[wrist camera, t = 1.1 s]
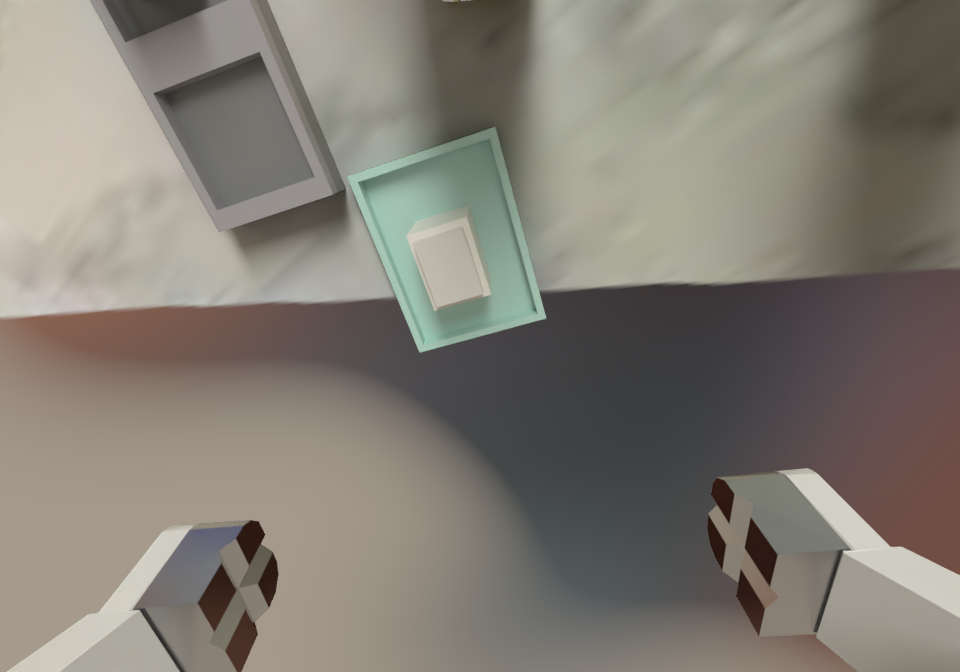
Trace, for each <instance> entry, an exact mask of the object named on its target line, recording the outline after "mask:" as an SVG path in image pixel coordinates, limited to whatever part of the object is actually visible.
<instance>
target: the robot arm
mask: <svg viewBox="0 0 960 672" xmlns="http://www.w3.org/2000/svg"><path fill="white" fill-rule="evenodd" d="M711 496H712V497H713V499H714V501H715V502H716V504H717V506H716V507H715V508H714V509H713V510H712V511H711V512H710V513H709V514H708V524H707V531H708V536H709V542H710V546H711V548H712V551H713V554H714V556H715V558H716V560H717V562H718V564H719V566H720V568H721V569H722V571H723V572H724V573H726V574H727V575H729V576H730V577H732V578H733V579H734V580H736V581H737V582H738V588H737V594H736V597H737V599H738V600H739V602H740V604H741V606H742V607H743V609H744V611H745V613H746V615H747V616H748V618H749V620H750V622H751V623H752V625H753V627H754V629H755V630H756V632H757V634H758V636H759V637H765V636H787V635H806V634H807V635H808V634H817V636H816V637H817V638H818V639H819V640H820V641H821V642H822V643H824V644H825V645H826V646H827V647H829V648H830V649H831V650H832V651H833V652H835V653H836V654H837V655H838V656H839V657H841V658H842V659H843V660H844V661H846V662H847V663H848V664H849V665H850V666H852V667H853V668H854V669H855V670H857V671H858V672H960V575H958V574H956V573H954V572H952V571H949V570H948V569H946V568H944V567H941V566H940V565H938V564H935V563H934V562H931V561H930V560H927V559H926V558H923V557H921V556H919V555H917V554H915V553H913V552H911V551H909V550H907V549H905V548H903V547H890V546H889V545H888V544H887V543H886V542H885V541H884V540H883V539H882V538H881V537H880V536H879V535H878V534H877V533H876V532H875V531H874V530H873V529H872V528H871V527H870V526H869V525H868V524H867V523H866V522H865V521H864V520H863V519H862V518H861V517H860V516H859V515H858V514H857V513H856V512H855V511H854V510H853V509H852V508H851V507H850V506H849V505H848V504H847V503H846V502H845V501H844V500H843V499H842V498H841V497H840V496H839V495H838V494H837V493H836V492H835V491H834V490H833V489H832V488H831V487H830V486H829V485H828V484H827V483H826V482H825V481H824V480H823V479H822V478H821V477H820V476H819V475H818V474H817V473H816V472H814V471H812V470H810V469H808V468H804V469H795V470H784V471H777V472H766V473H756V474H746V475H737V476H726V477H717V478H716V479H715V481H714V482H713V484H712V491H711ZM264 536H265V533H264V531H263V529H262V527H261V525H260V523H259V521H253V520H246V521H231V522H215V523H200V524H193V525H177V526H171V527H170V528H168V529H166V530H165V531H163V532H162V533H161V534H160V535H159V537H158V538H157V539H156V541H155V542H154V543H153V544H152V546H151V547H150V548H149V549H148V551H147V552H146V553H145V554H144V556H143V557H142V558H141V560H140V561H139V562H138V563H137V564H136V566H135V567H134V568H133V570H132V571H131V572H130V573H129V575H128V576H127V577H126V579H125V580H124V581H123V582H122V584H121V585H120V586H119V587H118V589H117V590H116V591H115V592H114V594H113V595H112V596H111V597H110V599H109V600H108V601H107V603H106V604H105V605H104V606H103V608H102V609H101V610H100V612H99V613H94V614H88V615H87V616H85V617H84V618H83V619H81V620H80V621H78V622H77V623H76V624H74V625H73V626H71V627H70V628H68V629H67V630H65V631H64V632H63V633H61V634H60V635H58V636H57V637H55V638H54V639H53V640H51V641H50V642H48V643H47V644H46V645H44V646H43V647H41V648H40V649H38V650H37V651H36V652H34V653H33V654H31V655H30V656H28V657H27V658H26V659H24V660H23V661H21V662H20V663H18V664H17V665H16V666H14V667H13V668H11V669H10V670H9V671H7V672H241V671H242V669H243V667H244V664H245V662H246V660H247V657H248V655H249V653H250V651H251V648H252V646H253V644H254V642H255V639H256V637H257V635H258V633H257V629H256V625H255V621H256V620H257V619H258V618H259V617H260V616H261V615H262V614H264V612H266V611H267V610H268V609H269V607H270V605H271V602H272V600H273V597H274V595H275V592H276V587H277V580H278V567H277V561H276V559H275V556H274V554H273V552H272V551H271V550H269V549H268V548H266V547H265V546H263V545H262V544H261V542H262V540H263V538H264Z"/></svg>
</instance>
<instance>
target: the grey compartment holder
mask: <svg viewBox="0 0 960 672" xmlns="http://www.w3.org/2000/svg"><path fill="white" fill-rule="evenodd" d="M90 1H91V3H92V5H93V7H94V9H95V10H96V12H97V14H98V16H99V18H100V19H101V21H102V23H103V25H104V27H105V28H106V30H107V32H108V34H109V36H110V37H111V39H112V41H113V43H114V45H115V46H116V48H117V50H118V52H119V54H120V55H121V57H122V59H123V61H124V63H125V64H126V66H127V68H128V70H129V72H130V73H131V75H132V77H133V79H134V81H135V82H136V84H137V86H138V88H139V90H140V91H141V93H142V95H143V97H144V99H145V100H146V102H147V104H148V106H149V108H150V109H151V111H152V113H153V115H154V117H155V118H156V120H157V122H158V124H159V126H160V127H161V129H162V131H163V133H164V135H165V136H166V138H167V140H168V142H169V144H170V145H171V147H172V149H173V151H174V153H175V154H176V156H177V158H178V160H179V162H180V163H181V165H182V167H183V169H184V171H185V172H186V174H187V176H188V178H189V180H190V181H191V183H192V185H193V187H194V189H195V190H196V192H197V194H198V196H199V198H200V199H201V201H202V203H203V205H204V207H205V208H206V210H207V212H208V214H209V216H210V217H211V219H212V221H213V223H214V225H215V226H216V228H217V230H218V232H222V231H225V230H228V229H231V228H234V227H237V226H240V225H243V224H246V223H249V222H252V221H255V220H258V219H261V218H264V217H267V216H270V215H273V214H276V213H279V212H282V211H285V210H288V209H291V208H295V207H298V206H301V205H304V204H307V203H310V202H313V201H316V200H319V199H322V198H325V197H328V196H331V195H333V194H335V193H338V192H340V191H342V190H344V189H346V188H345V186H344V183H343V181H342V179H341V176H340V174H339V171H338V169H337V167H336V164H335V162H334V159H333V157H332V155H331V152H330V150H329V147H328V145H327V143H326V140H325V138H324V135H323V133H322V131H321V128H320V126H319V124H318V121H317V119H316V116H315V114H314V112H313V109H312V107H311V104H310V102H309V100H308V97H307V95H306V92H305V90H304V88H303V85H302V83H301V80H300V78H299V76H298V73H297V71H296V68H295V66H294V64H293V61H292V59H291V56H290V54H289V52H288V49H287V47H286V44H285V42H284V40H283V37H282V35H281V33H280V30H279V28H278V25H277V23H276V21H275V18H274V16H273V13H272V11H271V9H270V6H269V4H268V1H267V0H90Z"/></svg>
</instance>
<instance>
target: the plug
mask: <svg viewBox="0 0 960 672" xmlns="http://www.w3.org/2000/svg"><path fill="white" fill-rule="evenodd" d="M406 237H407V239H408V242H409V245H410V247H411V250H412V253H413V255H414V258H415V261H416V263H417V266H418V269H419V271H420V274H421V276H422V279H423V282H424V284H425V287H426V290H427V292H428V295H429V298H430V300H431V303H432V305H433V308H434V311H436V310H439V309H443V308H446V307H450V306H454V305H457V304H461V303H464V302H468V301H471V300H475V299H478V298H482V297H485V296H489V295H491V274H490V271H489V267H488V264H487V261H486V258H485V254H484V251H483V248H482V245H481V242H480V238H479V235H478V232H477V229H476V225H475V222H474V219H473V216H472V212H471V209H470V206H469V205H467V206H463V207H460V208H457V209H454V210H451V211H448V212H444V213H441V214H438V215H435V216H432V217H428V218H425V219H422V220H419V221H416V222H415V224H414V225H413V227H412V228H411V230H410V231H409V232H408V234H407V235H406Z"/></svg>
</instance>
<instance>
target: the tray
mask: <svg viewBox="0 0 960 672" xmlns="http://www.w3.org/2000/svg"><path fill="white" fill-rule="evenodd" d="M347 178H348V180H349V183H350V185H351V187H352V190H353V192H354V195H355V197H356V200H357V202H358V204H359V207H360V209H361V212H362V214H363V217H364V219H365V221H366V224H367V226H368V229H369V231H370V234H371V236H372V238H373V241H374V243H375V246H376V248H377V251H378V253H379V255H380V258H381V260H382V263H383V265H384V268H385V270H386V272H387V275H388V277H389V280H390V282H391V285H392V287H393V289H394V292H395V294H396V297H397V299H398V302H399V304H400V306H401V309H402V311H403V313H404V316H405V319H406V321H407V323H408V326H409V328H410V331H411V333H412V336H413V338H414V340H415V343H416V345H417V348H418V350H419V352H424V351H427V350H431V349H435V348H438V347H443V346H446V345H450V344H454V343H457V342H461V341H465V340H468V339H472V338H476V337H479V336H483V335H487V334H490V333H494V332H498V331H501V330H505V329H509V328H512V327H516V326H520V325H523V324H527V323H531V322H535V321H538V320H542V319H546V316H545V312H544V309H543V304H542V300H541V297H540V293H539V289H538V285H537V282H536V278H535V274H534V270H533V267H532V263H531V259H530V255H529V252H528V248H527V244H526V240H525V236H524V233H523V229H522V225H521V221H520V218H519V214H518V210H517V206H516V203H515V199H514V195H513V191H512V187H511V184H510V180H509V176H508V172H507V169H506V165H505V161H504V157H503V154H502V150H501V146H500V142H499V139H498V135H497V131H496V127H492V128H489V129H486V130H483V131H480V132H477V133H474V134H471V135H468V136H465V137H462V138H459V139H456V140H454V141H451V142H448V143H445V144H442V145H439V146H436V147H433V148H430V149H427V150H424V151H421V152H418V153H415V154H412V155H409V156H406V157H403V158H400V159H397V160H394V161H391V162H388V163H385V164H382V165H379V166H376V167H373V168H371V169H368V170H365V171H362V172H359V173H356V174H353V175H350V176H348V177H347ZM467 205H469V206H470V209H471V212H472V216H473V219H474V222H475V225H476V229H477V232H478V235H479V238H480V242H481V245H482V248H483V251H484V254H485V258H486V261H487V264H488V267H489V271H490V274H491V295H489V296H485V297H482V298H478V299H475V300H471V301H468V302H464V303H461V304H457V305H454V306H450V307H446V308H443V309H439V310H436V311H434V308H433V305H432V303H431V300H430V298H429V295H428V292H427V290H426V287H425V284H424V282H423V279H422V276H421V274H420V271H419V269H418V266H417V263H416V261H415V258H414V255H413V253H412V250H411V247H410V245H409V242H408V239H407V237H406V235H407V234H408V232H409V231H410V230H411V228H412V227H413V225H414V224H415V222H416V221H419V220H422V219H425V218H428V217H432V216H435V215H438V214H441V213H444V212H448V211H451V210H454V209H457V208H460V207H463V206H467Z"/></svg>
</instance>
